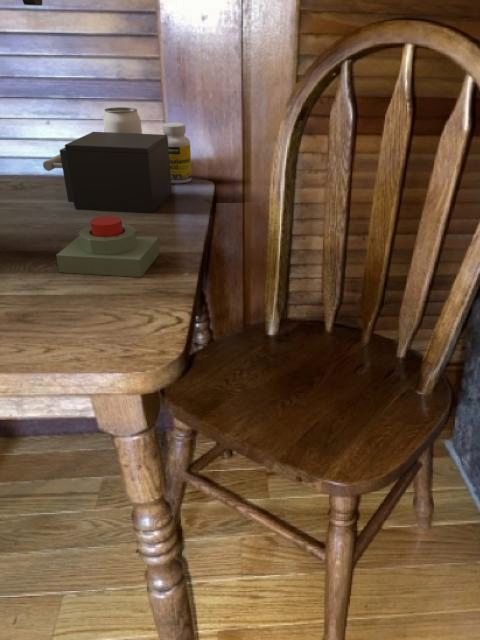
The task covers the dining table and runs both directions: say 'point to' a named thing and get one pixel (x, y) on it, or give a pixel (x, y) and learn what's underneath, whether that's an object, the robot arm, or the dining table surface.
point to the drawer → (61, 162)
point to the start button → (106, 226)
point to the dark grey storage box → (119, 171)
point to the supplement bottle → (178, 152)
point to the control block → (109, 254)
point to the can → (122, 120)
